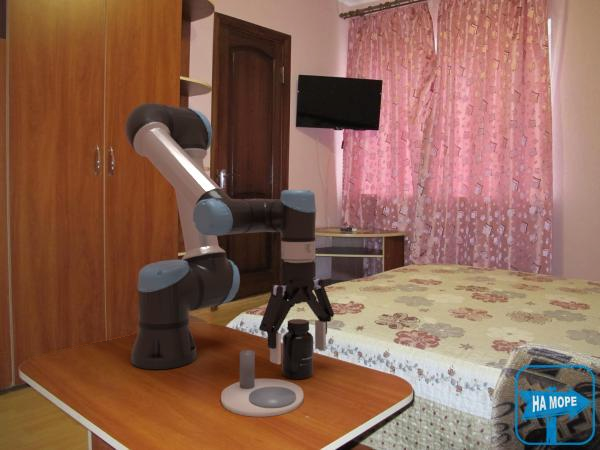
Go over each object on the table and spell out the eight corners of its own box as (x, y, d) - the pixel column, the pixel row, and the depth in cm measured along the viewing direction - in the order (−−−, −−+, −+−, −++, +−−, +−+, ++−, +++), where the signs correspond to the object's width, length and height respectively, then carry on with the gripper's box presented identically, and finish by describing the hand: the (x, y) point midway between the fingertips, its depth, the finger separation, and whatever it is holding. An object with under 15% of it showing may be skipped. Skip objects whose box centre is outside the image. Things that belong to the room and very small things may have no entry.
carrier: (205, 397, 97) (205, 357, 97) (268, 377, 108) (268, 341, 108) (255, 425, 85) (255, 380, 85) (320, 399, 96) (320, 359, 96)
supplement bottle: (309, 381, 106) (310, 326, 105) (279, 378, 107) (279, 324, 107) (315, 370, 113) (315, 318, 112) (286, 368, 114) (286, 316, 113)
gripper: (265, 267, 97) (265, 373, 98) (349, 257, 114) (349, 347, 115) (242, 263, 103) (243, 364, 104) (325, 254, 120) (325, 341, 121)
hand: (298, 355), depth 109 cm, fingers open, 13 cm apart
